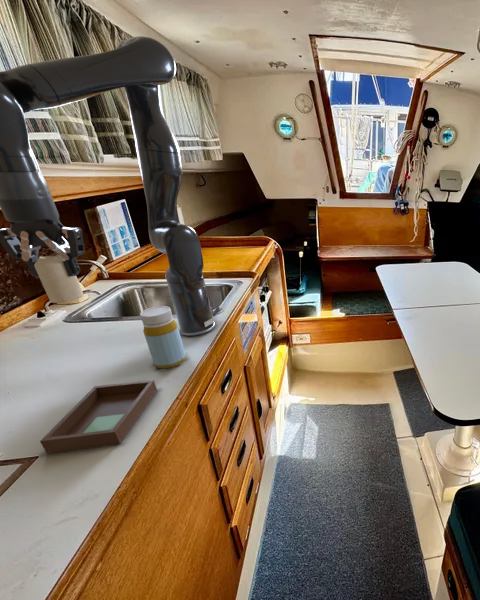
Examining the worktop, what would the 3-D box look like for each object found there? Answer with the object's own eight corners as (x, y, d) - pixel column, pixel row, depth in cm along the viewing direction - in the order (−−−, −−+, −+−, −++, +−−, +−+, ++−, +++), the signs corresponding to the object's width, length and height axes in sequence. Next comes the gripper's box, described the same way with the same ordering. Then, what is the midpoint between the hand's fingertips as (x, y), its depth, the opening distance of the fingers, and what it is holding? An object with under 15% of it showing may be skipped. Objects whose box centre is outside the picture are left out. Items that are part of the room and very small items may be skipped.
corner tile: (97, 417, 66) (96, 417, 66) (134, 413, 68) (134, 412, 67) (74, 444, 60) (73, 443, 60) (116, 438, 61) (116, 438, 61)
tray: (99, 396, 73) (94, 385, 71) (157, 390, 75) (154, 380, 74) (46, 453, 59) (39, 441, 57) (120, 444, 61) (114, 431, 60)
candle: (83, 292, 76) (67, 251, 72) (84, 299, 73) (67, 256, 69) (50, 297, 73) (31, 255, 69) (50, 305, 69) (30, 261, 65)
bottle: (151, 372, 81) (134, 319, 75) (158, 357, 87) (142, 307, 81) (184, 366, 84) (169, 314, 78) (188, 352, 90) (174, 303, 84)
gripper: (79, 194, 69) (106, 269, 75) (-3, 193, 66) (32, 271, 73) (53, 198, 62) (84, 280, 69) (-40, 197, 59) (2, 283, 66)
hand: (57, 275), depth 71 cm, fingers closed on candle, 5 cm apart
